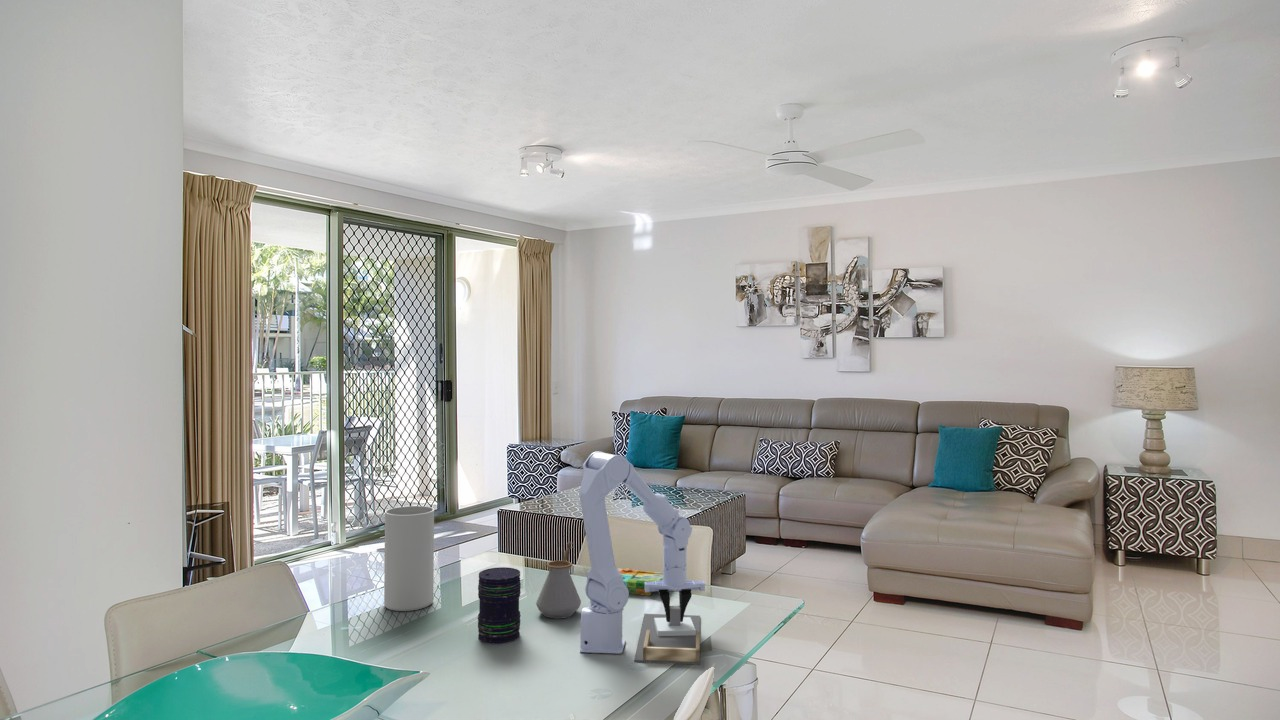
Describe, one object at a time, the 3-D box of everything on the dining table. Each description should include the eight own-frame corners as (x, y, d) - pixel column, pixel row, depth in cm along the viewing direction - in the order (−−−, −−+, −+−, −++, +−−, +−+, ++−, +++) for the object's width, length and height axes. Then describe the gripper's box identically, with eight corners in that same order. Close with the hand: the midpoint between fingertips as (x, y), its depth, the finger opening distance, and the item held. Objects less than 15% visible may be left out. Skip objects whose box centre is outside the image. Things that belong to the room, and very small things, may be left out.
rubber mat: (634, 661, 159) (634, 660, 159) (644, 615, 189) (644, 613, 189) (699, 664, 158) (699, 662, 158) (699, 617, 187) (699, 615, 187)
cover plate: (657, 636, 173) (657, 614, 173) (654, 622, 182) (654, 601, 182) (695, 635, 174) (695, 613, 174) (690, 621, 183) (690, 601, 183)
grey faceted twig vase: (576, 622, 183) (576, 562, 183) (531, 620, 184) (531, 560, 184) (590, 595, 204) (591, 541, 204) (550, 593, 205) (550, 540, 206)
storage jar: (515, 626, 180) (516, 565, 180) (524, 641, 170) (524, 576, 171) (474, 631, 176) (475, 569, 176) (481, 646, 167) (481, 580, 167)
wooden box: (642, 661, 159) (643, 647, 159) (646, 642, 170) (646, 629, 170) (699, 663, 158) (699, 650, 158) (699, 644, 169) (699, 631, 169)
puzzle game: (607, 565, 219) (672, 570, 214) (606, 580, 219) (672, 587, 214) (593, 575, 208) (662, 582, 202) (593, 592, 208) (661, 599, 202)
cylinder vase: (374, 610, 191) (375, 513, 191) (401, 595, 203) (401, 504, 203) (417, 614, 188) (418, 516, 188) (442, 599, 200) (442, 507, 200)
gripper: (646, 569, 174) (646, 627, 174) (707, 568, 175) (706, 625, 175) (643, 561, 181) (643, 616, 181) (702, 560, 182) (702, 615, 182)
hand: (674, 620), depth 178 cm, fingers closed on cover plate, 2 cm apart
